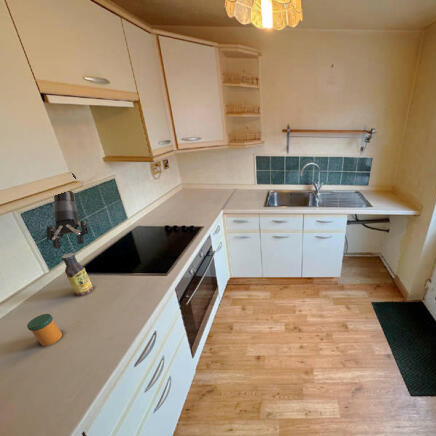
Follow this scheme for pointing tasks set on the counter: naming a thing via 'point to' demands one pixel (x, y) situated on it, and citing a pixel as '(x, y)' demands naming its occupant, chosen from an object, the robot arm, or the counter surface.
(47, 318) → the lid
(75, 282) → the sauce bottle
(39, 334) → the honey jar
